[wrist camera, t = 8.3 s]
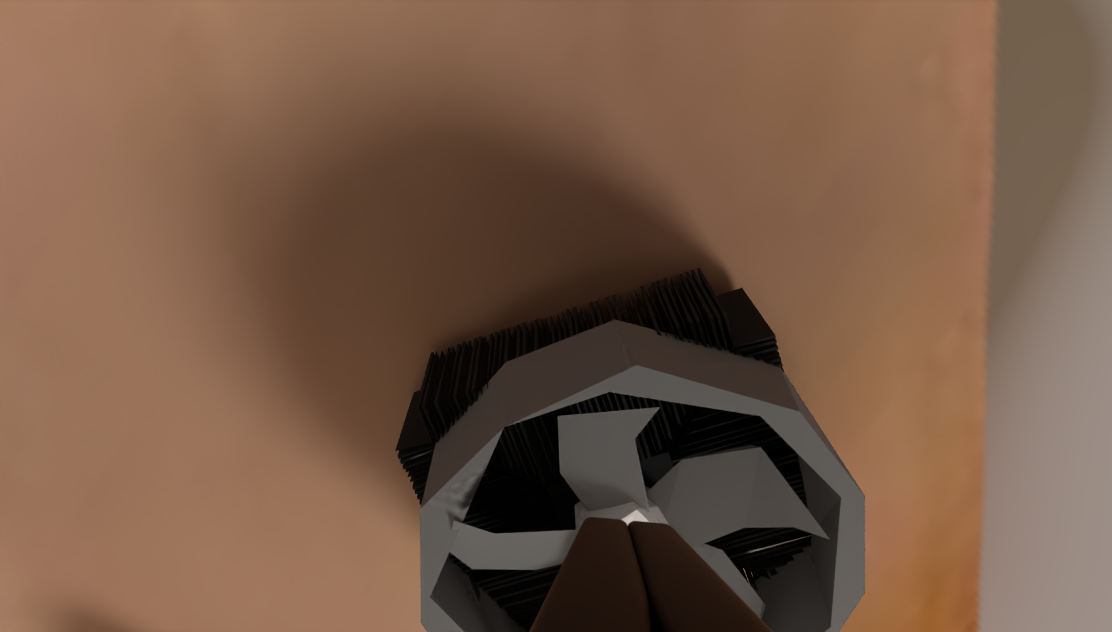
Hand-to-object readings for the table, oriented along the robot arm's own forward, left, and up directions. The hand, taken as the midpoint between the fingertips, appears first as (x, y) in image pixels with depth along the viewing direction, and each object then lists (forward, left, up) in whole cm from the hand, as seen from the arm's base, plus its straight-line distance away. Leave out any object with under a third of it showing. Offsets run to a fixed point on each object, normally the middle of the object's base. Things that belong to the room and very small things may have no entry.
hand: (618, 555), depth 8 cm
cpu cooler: (+6, -4, -13) cm, 15 cm away
